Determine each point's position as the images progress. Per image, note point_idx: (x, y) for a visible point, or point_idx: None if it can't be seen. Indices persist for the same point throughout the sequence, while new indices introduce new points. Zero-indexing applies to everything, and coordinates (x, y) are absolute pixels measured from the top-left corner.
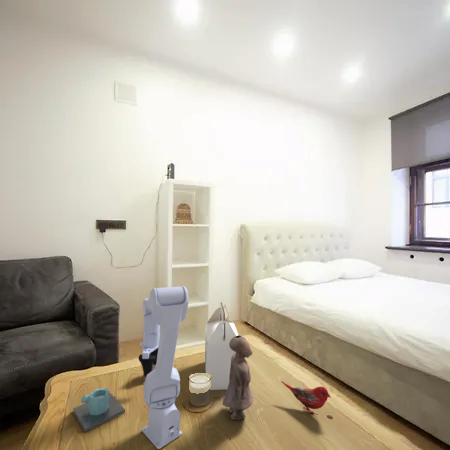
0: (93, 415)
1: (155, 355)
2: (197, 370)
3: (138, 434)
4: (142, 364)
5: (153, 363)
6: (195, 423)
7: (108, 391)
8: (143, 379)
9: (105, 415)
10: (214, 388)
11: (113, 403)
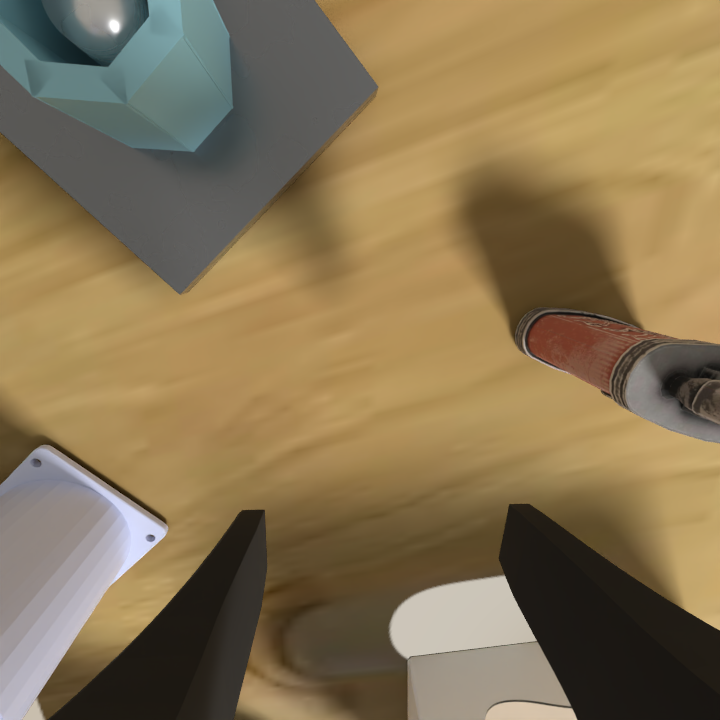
0: None
1: (581, 673)
2: None
3: (21, 430)
4: (95, 694)
5: (510, 548)
6: None
7: (120, 89)
8: (541, 320)
9: (90, 163)
10: (409, 696)
11: (237, 175)
